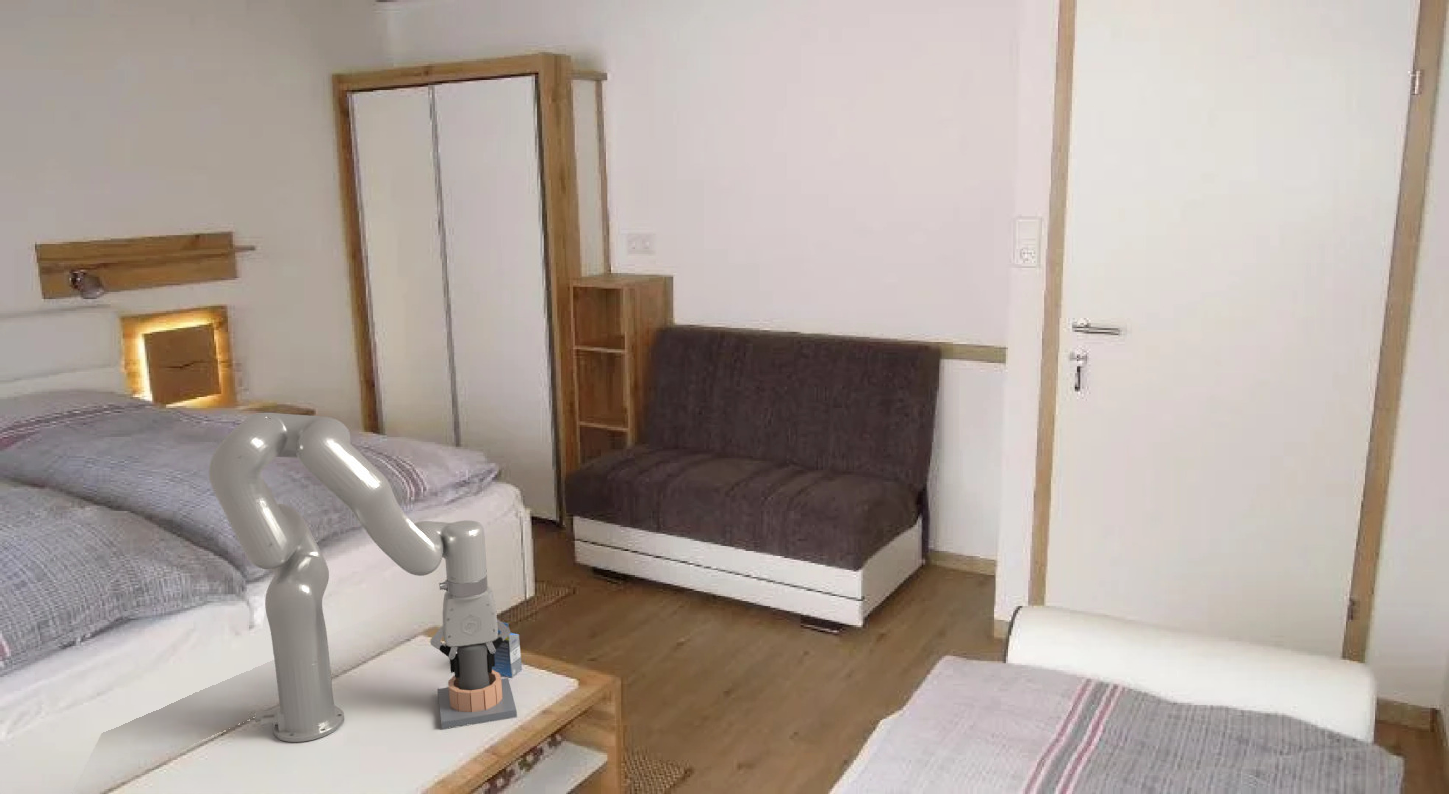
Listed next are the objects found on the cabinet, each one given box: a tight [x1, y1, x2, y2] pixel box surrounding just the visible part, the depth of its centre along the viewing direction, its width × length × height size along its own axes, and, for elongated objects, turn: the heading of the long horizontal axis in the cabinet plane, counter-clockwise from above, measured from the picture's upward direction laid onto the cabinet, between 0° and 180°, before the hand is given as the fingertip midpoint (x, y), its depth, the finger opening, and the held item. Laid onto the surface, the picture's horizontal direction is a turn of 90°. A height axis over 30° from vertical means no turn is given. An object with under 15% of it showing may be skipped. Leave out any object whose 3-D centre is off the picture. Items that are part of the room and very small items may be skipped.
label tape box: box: [492, 621, 523, 678], centre depth 220 cm, size 9×4×12 cm, turn 65°
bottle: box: [456, 643, 489, 690], centre depth 204 cm, size 6×6×15 cm
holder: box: [437, 670, 518, 730], centre depth 206 cm, size 14×14×6 cm
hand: (473, 671), depth 205 cm, fingers closed on bottle, 5 cm apart
